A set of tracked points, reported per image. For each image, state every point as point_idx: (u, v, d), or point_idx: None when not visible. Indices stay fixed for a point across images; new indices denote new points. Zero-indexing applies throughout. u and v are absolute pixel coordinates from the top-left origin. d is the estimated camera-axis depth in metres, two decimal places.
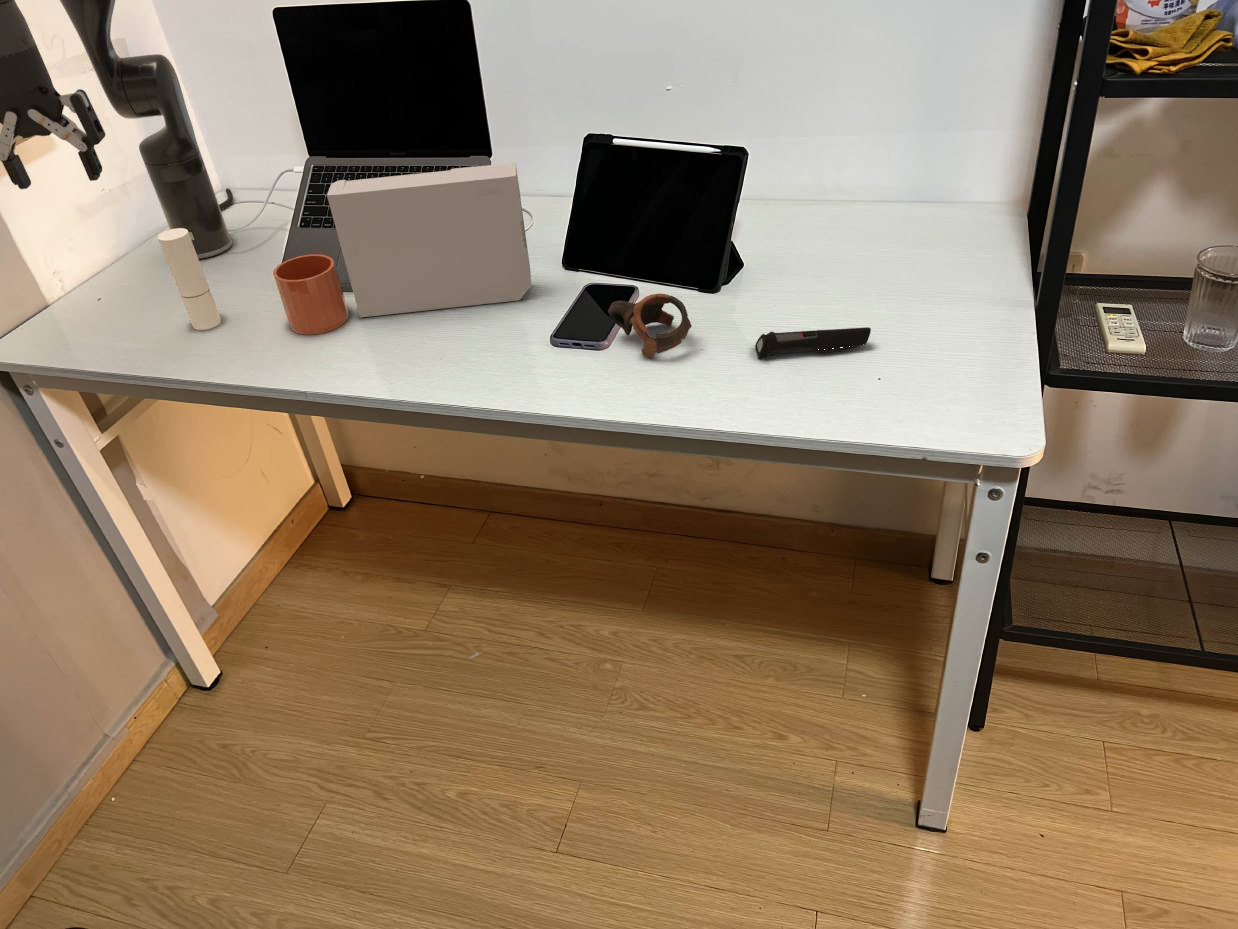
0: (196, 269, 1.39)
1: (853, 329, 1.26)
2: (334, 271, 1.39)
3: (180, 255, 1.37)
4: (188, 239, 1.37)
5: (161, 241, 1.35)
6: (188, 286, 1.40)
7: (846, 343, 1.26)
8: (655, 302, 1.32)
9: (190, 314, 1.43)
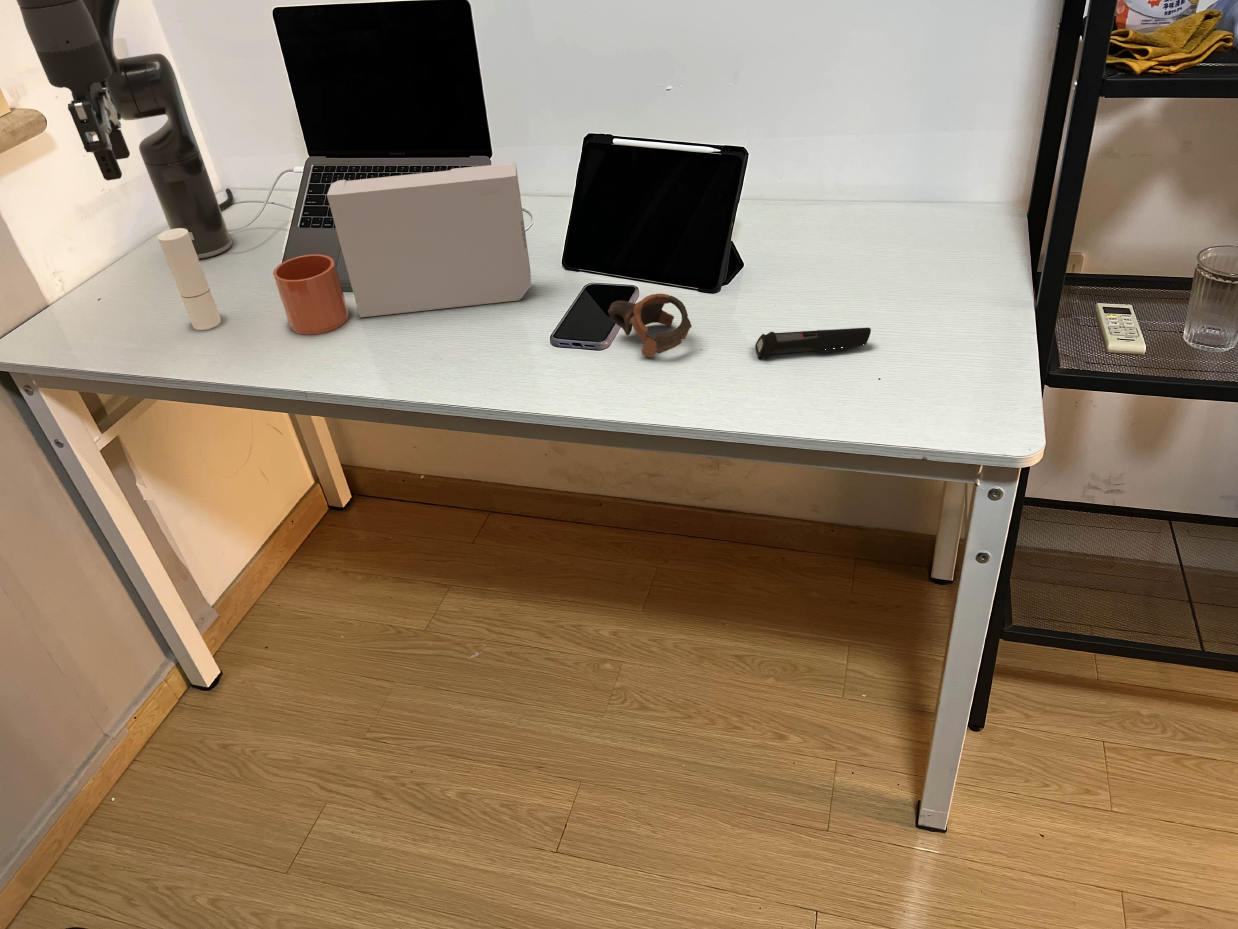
0: (196, 269, 1.39)
1: (853, 329, 1.26)
2: (334, 271, 1.39)
3: (180, 255, 1.37)
4: (188, 239, 1.37)
5: (161, 241, 1.35)
6: (188, 286, 1.40)
7: (846, 343, 1.26)
8: (655, 302, 1.32)
9: (190, 314, 1.43)
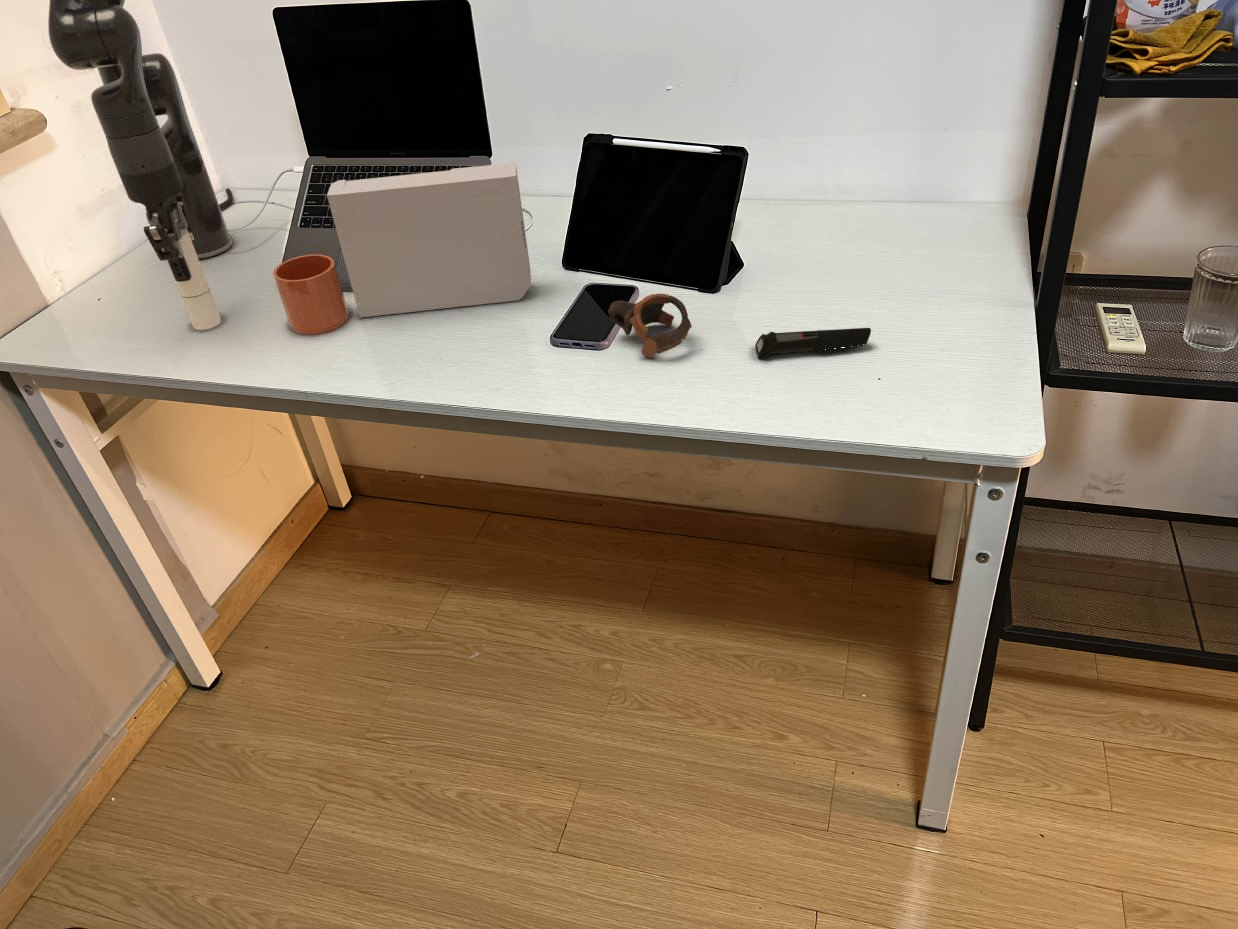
0: (196, 269, 1.39)
1: (853, 329, 1.26)
2: (334, 271, 1.39)
3: None
4: (188, 239, 1.37)
5: None
6: (188, 286, 1.40)
7: (846, 343, 1.26)
8: (655, 302, 1.32)
9: (190, 314, 1.43)
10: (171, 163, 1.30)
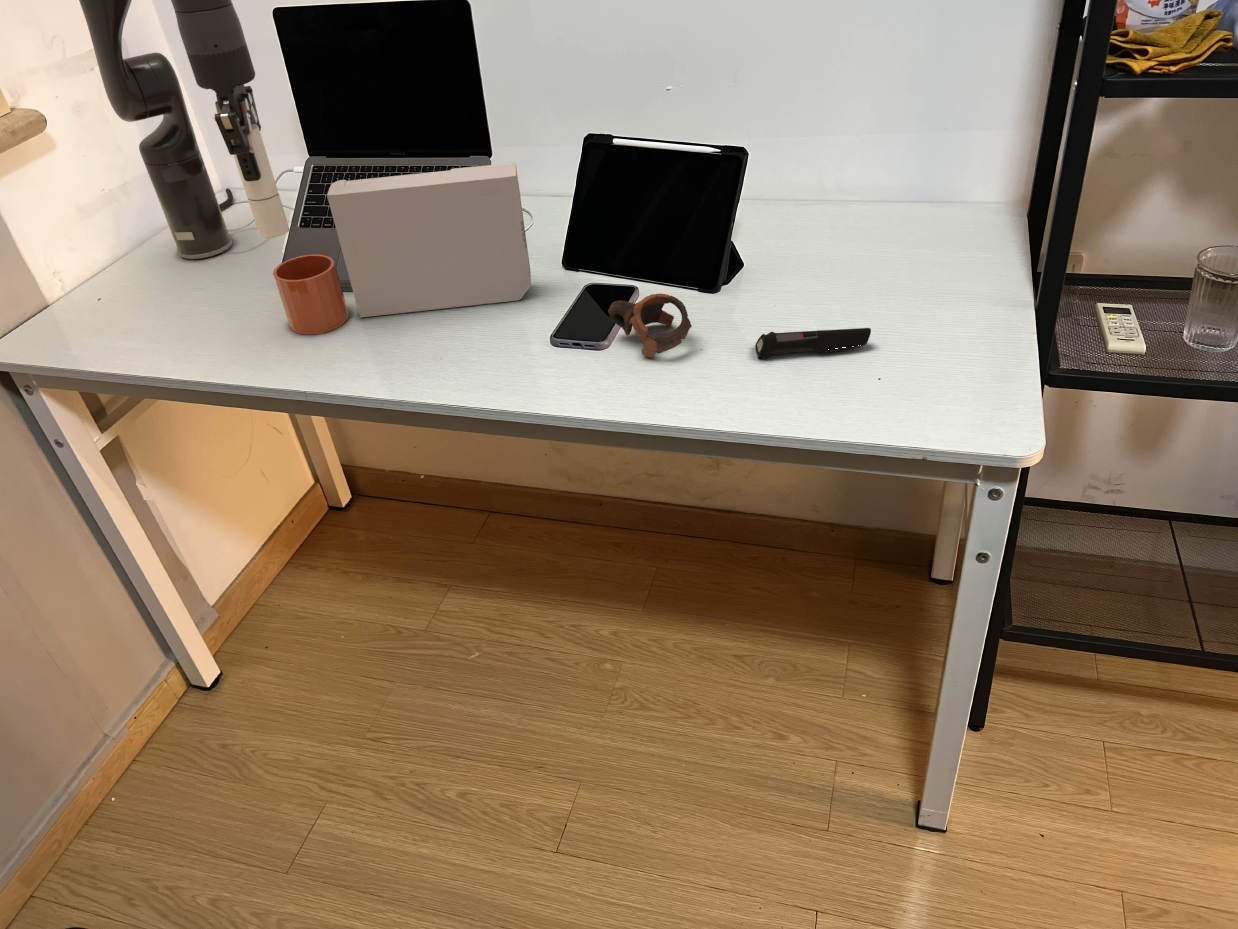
0: (266, 169, 1.29)
1: (853, 329, 1.26)
2: (334, 271, 1.39)
3: None
4: (258, 134, 1.26)
5: None
6: (256, 187, 1.29)
7: (846, 343, 1.26)
8: (655, 302, 1.32)
9: (257, 220, 1.32)
10: (244, 45, 1.19)
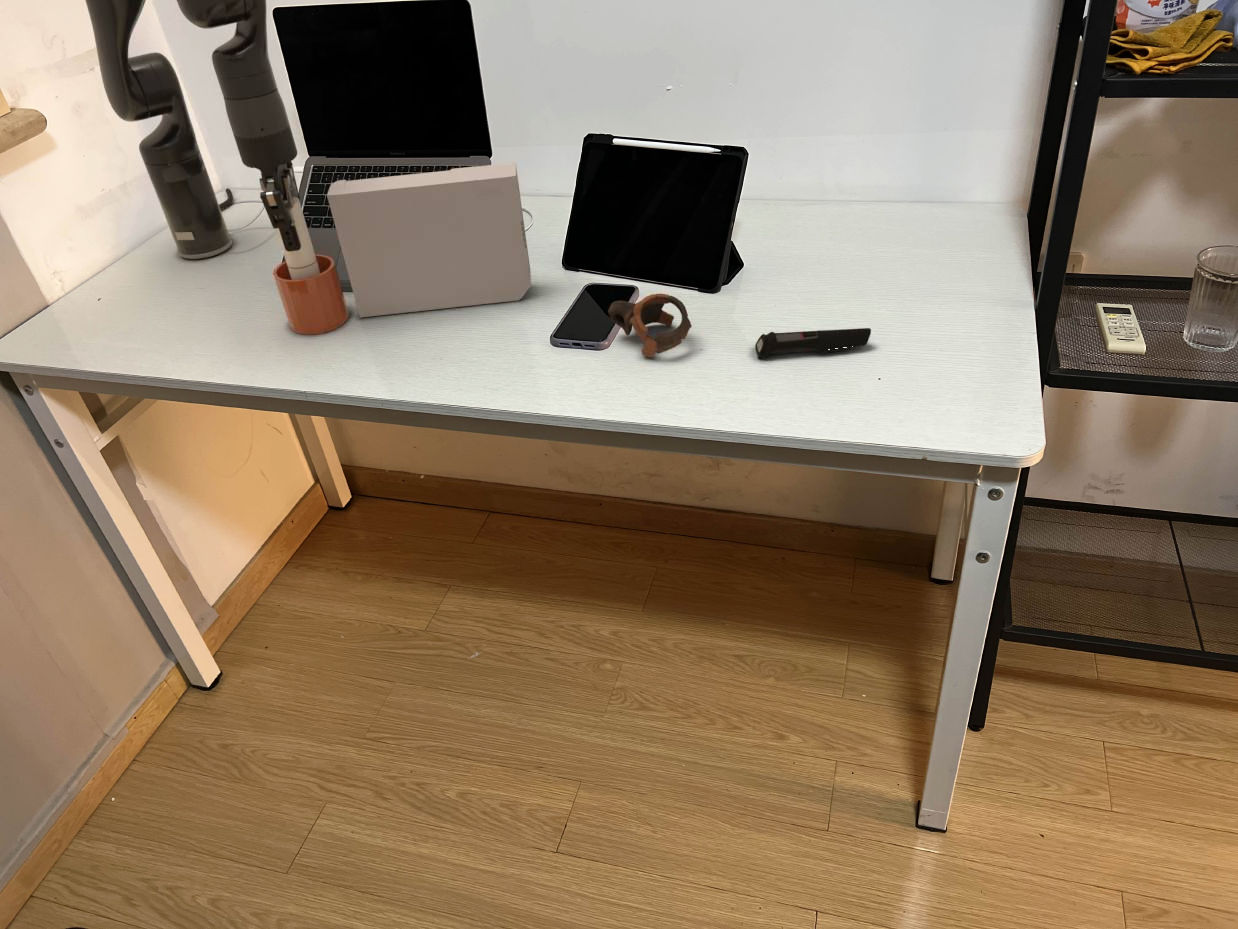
0: (306, 239, 1.35)
1: (853, 330, 1.26)
2: (334, 271, 1.39)
3: None
4: (299, 207, 1.33)
5: None
6: (297, 256, 1.35)
7: (846, 344, 1.26)
8: (655, 302, 1.32)
9: None
10: (288, 127, 1.26)
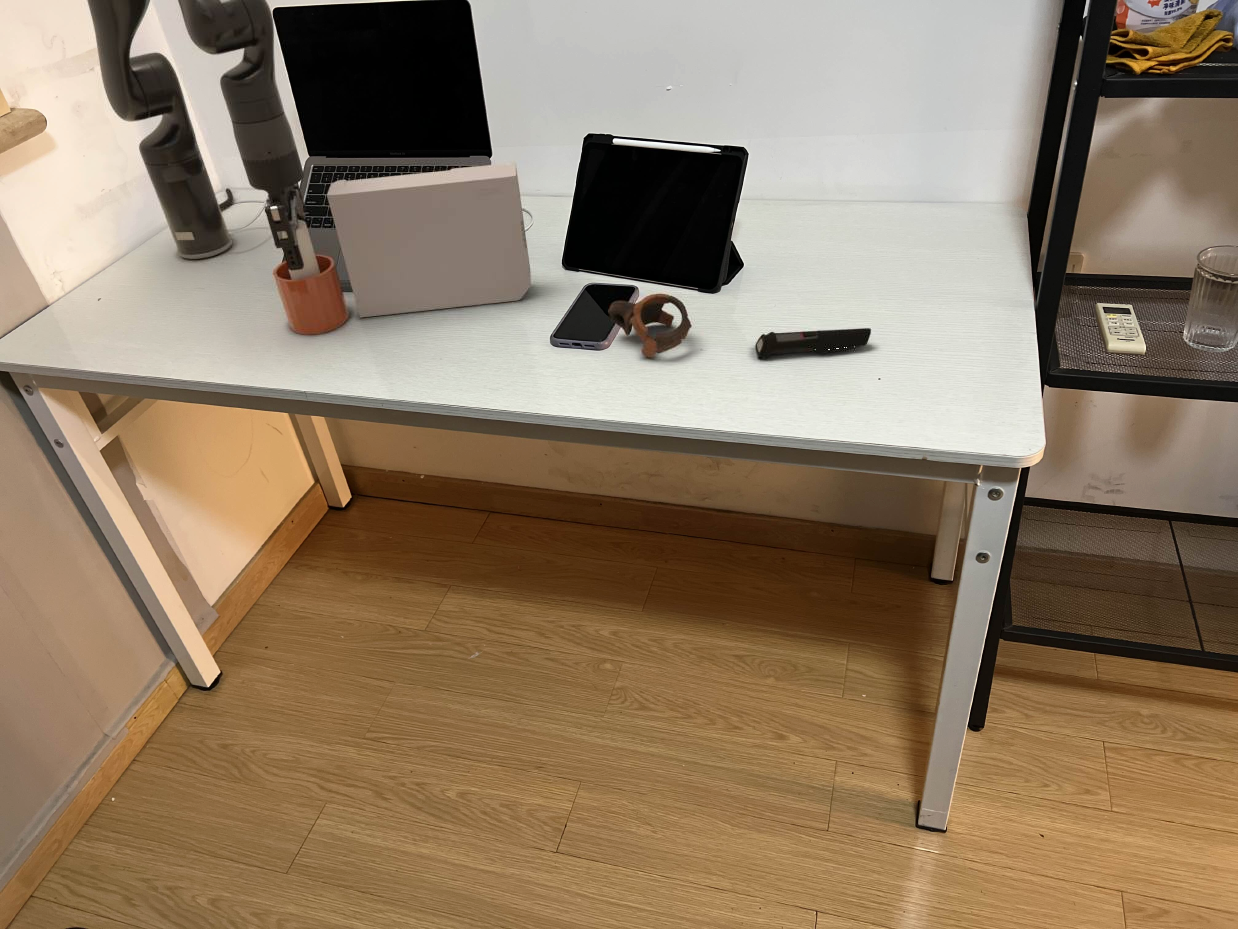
0: (312, 262, 1.37)
1: (853, 330, 1.26)
2: (334, 271, 1.39)
3: None
4: (306, 231, 1.35)
5: None
6: None
7: (846, 344, 1.26)
8: (655, 302, 1.32)
9: None
10: (294, 149, 1.28)
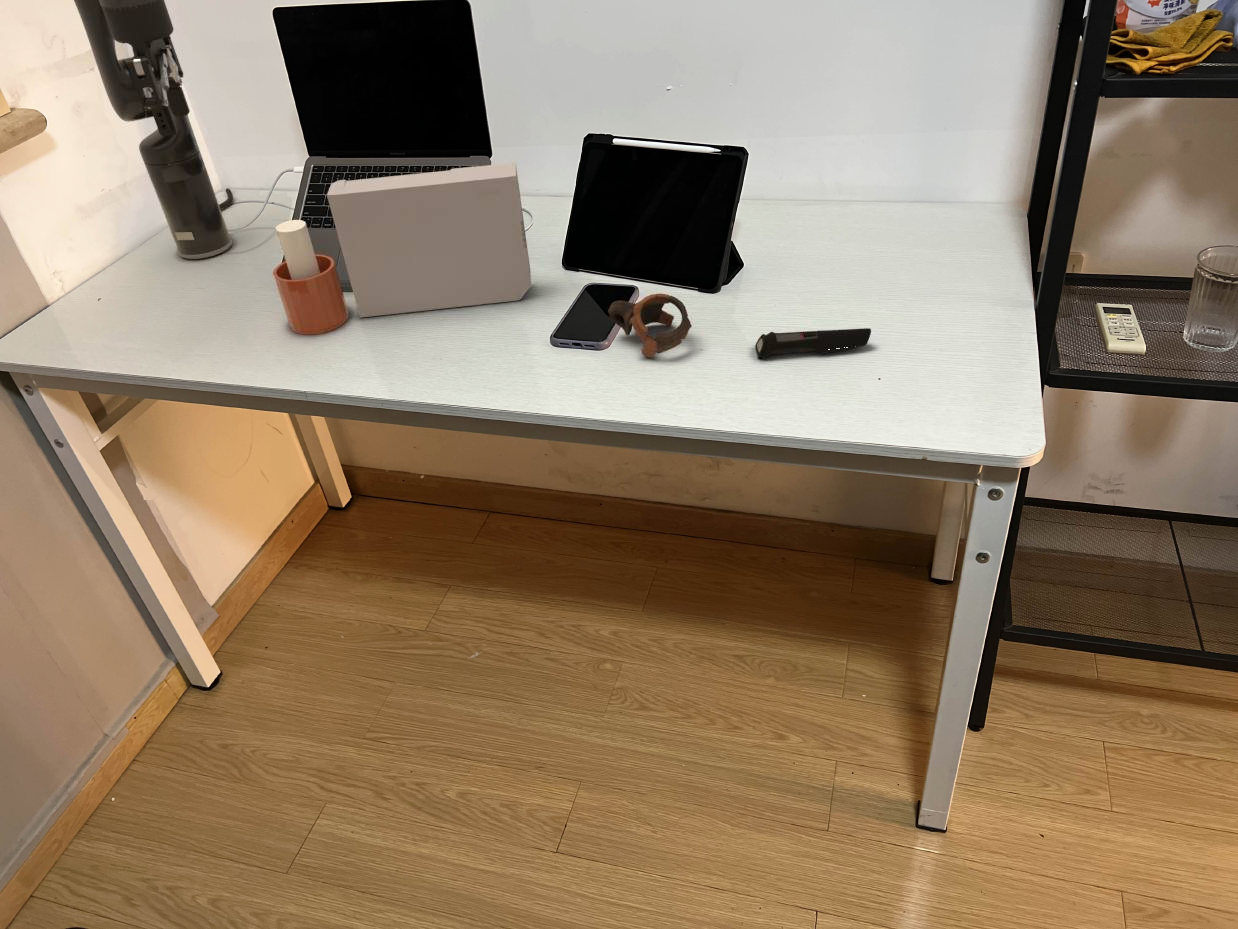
0: (312, 262, 1.37)
1: (853, 330, 1.26)
2: (334, 271, 1.39)
3: (298, 247, 1.35)
4: (306, 231, 1.35)
5: (281, 233, 1.33)
6: None
7: (846, 344, 1.25)
8: (655, 302, 1.32)
9: None
10: None
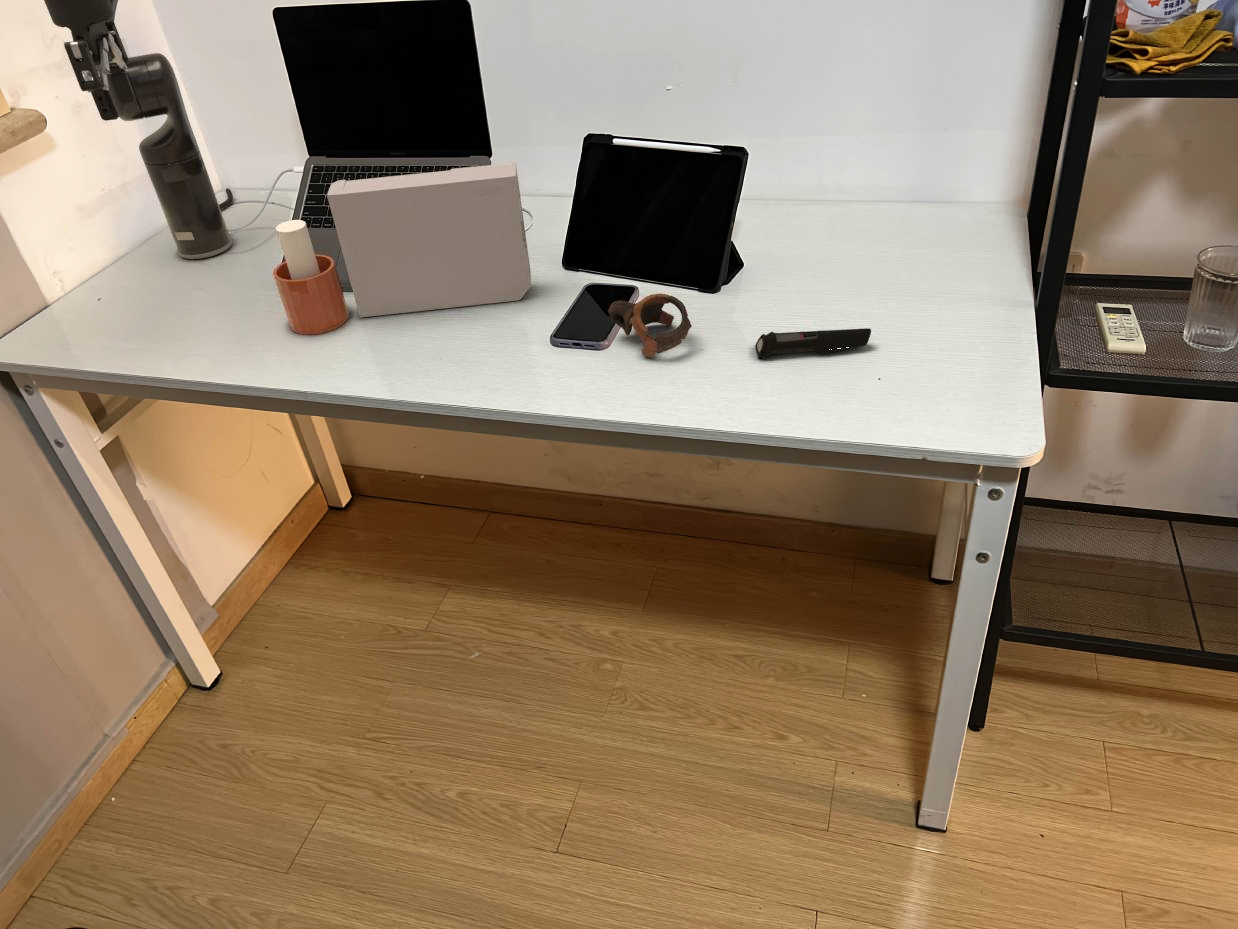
0: (312, 262, 1.37)
1: (853, 330, 1.26)
2: (334, 271, 1.39)
3: (298, 247, 1.35)
4: (306, 231, 1.35)
5: (281, 233, 1.33)
6: None
7: (846, 344, 1.25)
8: (655, 302, 1.32)
9: None
10: None
